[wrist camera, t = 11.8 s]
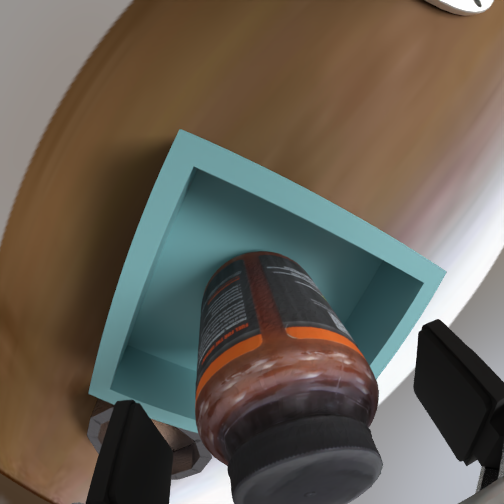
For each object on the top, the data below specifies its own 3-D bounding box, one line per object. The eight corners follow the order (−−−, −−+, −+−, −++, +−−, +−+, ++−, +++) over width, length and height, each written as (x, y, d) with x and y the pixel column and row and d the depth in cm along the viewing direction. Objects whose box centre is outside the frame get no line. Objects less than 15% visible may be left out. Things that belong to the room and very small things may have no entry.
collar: (107, 364, 18) (97, 388, 16) (228, 407, 20) (230, 433, 18) (90, 433, 21) (83, 455, 18) (188, 466, 22) (187, 488, 20)
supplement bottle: (192, 336, 17) (175, 527, 6) (216, 235, 15) (210, 412, 5) (293, 353, 18) (352, 524, 7) (328, 261, 16) (458, 414, 6)
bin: (192, 135, 15) (179, 128, 10) (397, 241, 18) (446, 271, 13) (112, 341, 18) (88, 393, 13) (293, 402, 21) (309, 455, 16)
